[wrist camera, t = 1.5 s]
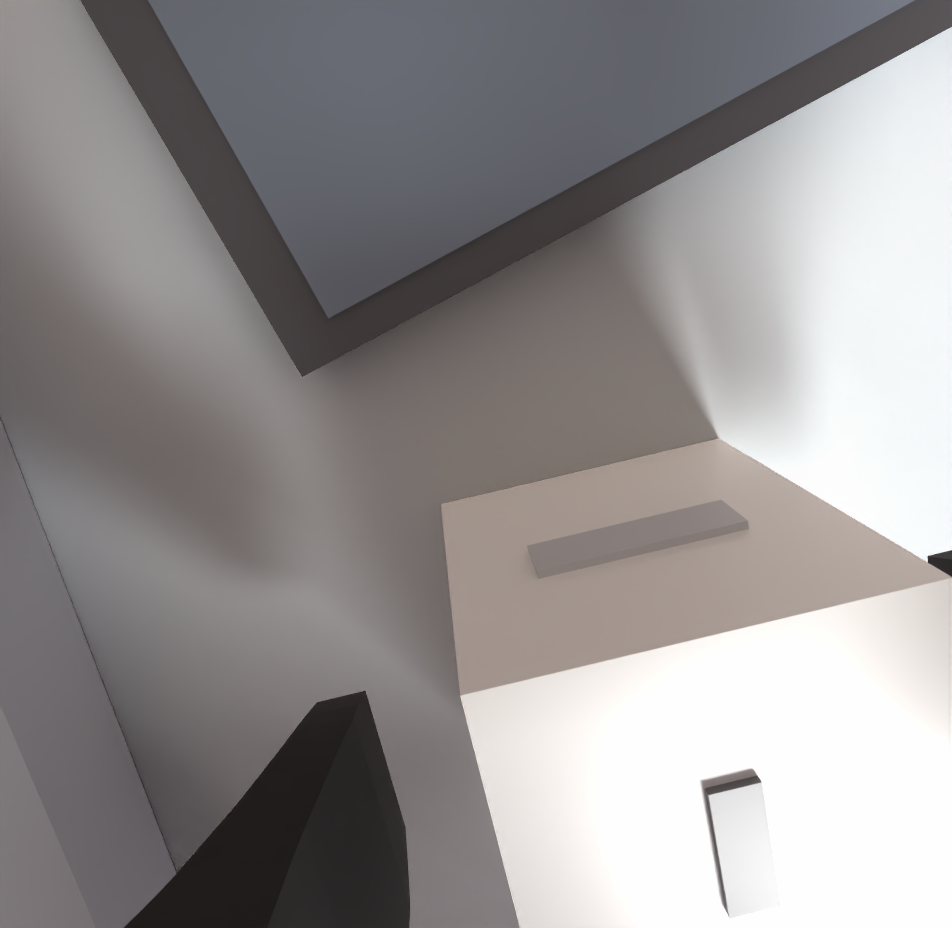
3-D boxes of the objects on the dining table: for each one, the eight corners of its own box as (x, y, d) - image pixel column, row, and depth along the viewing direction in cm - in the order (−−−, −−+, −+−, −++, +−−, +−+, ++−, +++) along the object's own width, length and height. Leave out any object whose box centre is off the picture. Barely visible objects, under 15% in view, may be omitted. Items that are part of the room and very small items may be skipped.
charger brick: (754, 685, 13) (987, 979, 8) (500, 746, 13) (559, 1085, 8) (717, 431, 12) (960, 571, 7) (438, 497, 12) (458, 692, 7)
